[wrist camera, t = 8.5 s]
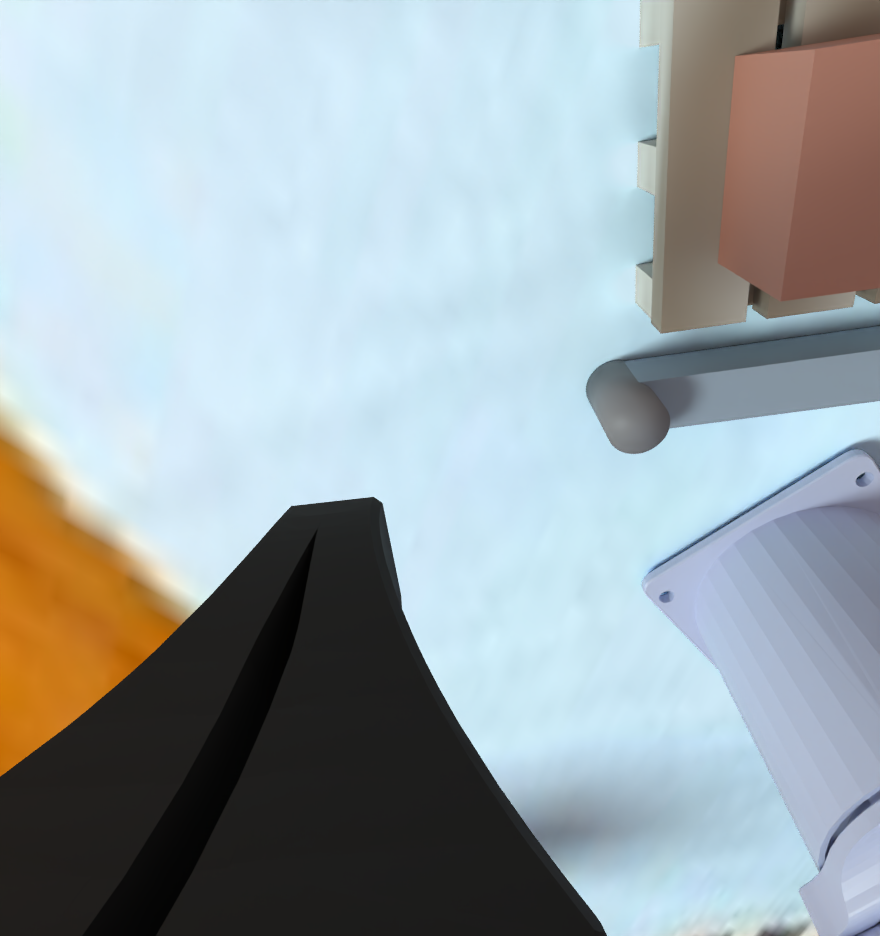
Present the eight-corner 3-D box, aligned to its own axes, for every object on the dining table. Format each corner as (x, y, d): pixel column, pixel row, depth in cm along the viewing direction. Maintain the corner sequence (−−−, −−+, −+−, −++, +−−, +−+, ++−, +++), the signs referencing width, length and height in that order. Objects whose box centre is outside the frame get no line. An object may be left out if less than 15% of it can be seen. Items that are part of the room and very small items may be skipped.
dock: (1166, -306, 12) (1332, -393, 10) (965, 364, 18) (1036, 402, 16) (571, -196, 12) (602, -255, 10) (586, 415, 19) (607, 457, 17)
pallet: (972, -69, 14) (1070, -96, 12) (897, 266, 17) (962, 291, 15) (637, -12, 14) (674, -29, 12) (633, 303, 18) (661, 333, 15)
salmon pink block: (945, 22, 12) (1083, 7, 10) (898, 237, 14) (1001, 270, 12) (735, 56, 13) (814, 49, 10) (717, 263, 15) (780, 301, 12)
